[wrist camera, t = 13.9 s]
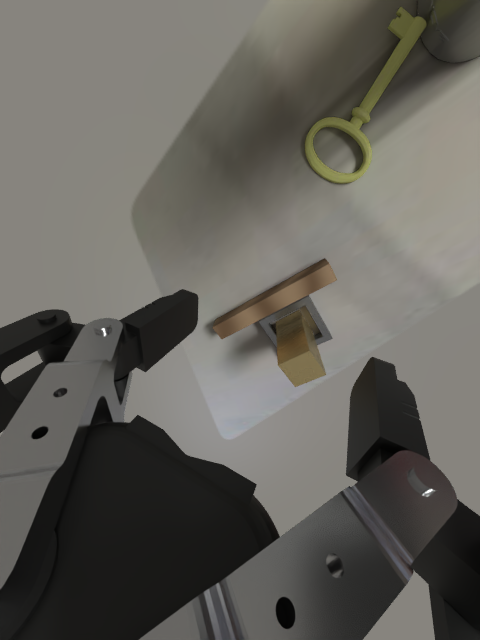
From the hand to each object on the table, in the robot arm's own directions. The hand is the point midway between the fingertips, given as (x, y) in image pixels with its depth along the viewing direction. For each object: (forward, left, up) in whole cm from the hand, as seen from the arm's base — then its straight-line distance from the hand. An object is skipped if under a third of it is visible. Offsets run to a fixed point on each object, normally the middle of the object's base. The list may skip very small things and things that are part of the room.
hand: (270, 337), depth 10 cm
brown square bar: (+4, +7, -22) cm, 23 cm away
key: (-13, -6, -23) cm, 27 cm away
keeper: (+3, +13, -22) cm, 26 cm away
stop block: (+3, +13, -22) cm, 26 cm away
